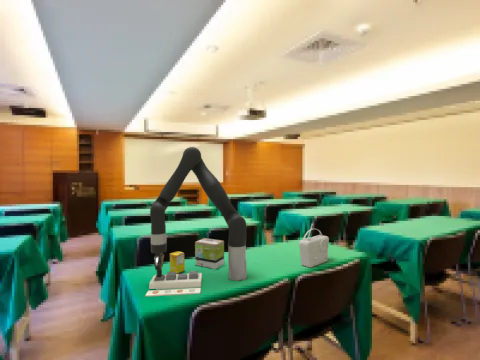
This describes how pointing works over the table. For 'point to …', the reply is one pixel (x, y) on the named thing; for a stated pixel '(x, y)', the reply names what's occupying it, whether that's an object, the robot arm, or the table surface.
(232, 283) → the table surface
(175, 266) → the supplement box
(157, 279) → the button
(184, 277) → the button
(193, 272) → the button
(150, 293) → the pattern card
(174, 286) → the button board
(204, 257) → the tea box
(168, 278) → the button
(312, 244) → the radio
